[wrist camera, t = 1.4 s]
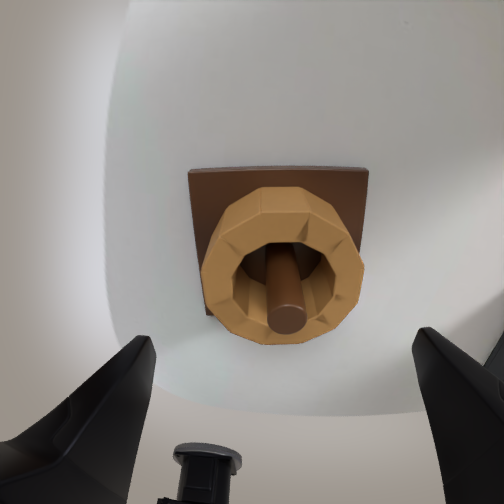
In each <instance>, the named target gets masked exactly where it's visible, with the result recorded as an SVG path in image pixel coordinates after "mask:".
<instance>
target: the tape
mask: <svg viewBox="0 0 504 504" xmlns="http://www.w3.org/2000/svg"><path fill="white" fill-rule="evenodd" d="M277 242H301V243H303V244H305V245H307V246H309V247H311V248H313V249H315V250H317V251H318V252H320V253H321V261H320V262H319V264H318V265H317V267H316V268H315V269H314V271H313V272H312V273H311V275H310V276H309V277H308V278H306V279H304V280H302V281H301V284H302V290H303V295H304V300H305V305H306V311H307V316H308V319H307V322H306V324H305V326H304V327H303V328H302V329H301V330H300V331H298V332H296V333H293V334H288V335H284V334H279V333H276V332H274V331H273V330H272V329H271V328H270V327H269V326H268V324H267V304H266V285H264V284H262V283H259V282H257V281H255V280H253V279H251V278H249V277H248V275H247V274H246V273H245V271H244V270H243V269H242V267H241V266H240V263H241V261H242V260H243V258H244V256H245V255H247V254H249V253H251V252H253V251H255V250H257V249H258V248H260V247H262V246H264V245H266V244H268V243H277ZM363 274H364V264H363V262H362V259H361V257H360V255H359V253H358V251H357V249H356V246H355V244H354V242H353V240H352V238H351V236H350V234H349V232H348V231H347V229H346V227H345V226H344V224H343V222H342V221H341V219H340V217H339V216H338V214H337V212H336V211H335V209H334V208H333V206H332V205H331V204H329V203H327V202H326V201H324V200H322V199H321V198H319V197H317V196H315V195H314V194H312V193H310V192H308V191H307V190H305V189H303V188H300V187H261V188H258V189H256V190H255V191H253V192H251V193H250V194H248V195H246V196H244V197H243V198H241V199H239V200H238V201H236V202H234V203H233V204H231V205H229V206H228V208H226V210H225V212H224V213H223V215H222V217H221V219H220V221H219V223H218V225H217V227H216V229H215V231H214V232H213V234H212V237H211V240H210V243H209V246H208V249H207V252H206V255H205V258H204V262H203V265H202V268H201V277H202V284H203V291H204V297H205V303H206V305H207V307H208V308H209V310H210V311H211V312H212V313H213V314H214V315H215V316H216V317H217V319H218V320H219V321H220V322H221V323H222V324H223V325H224V326H225V327H226V329H227V330H228V331H230V332H231V333H233V334H236V335H238V336H241V337H243V338H246V339H248V340H251V341H254V342H256V343H259V344H262V345H263V344H264V345H276V344H299V343H304V342H306V341H308V340H311V339H313V338H315V337H318V336H320V335H322V334H324V333H327V332H329V331H331V330H333V329H335V328H336V327H337V326H338V325H339V324H340V322H341V321H342V320H343V319H344V318H345V317H346V316H347V315H348V314H349V312H350V311H351V310H352V309H353V308H354V307H355V306H356V304H357V303H358V299H359V295H360V290H361V284H362V279H363Z"/></svg>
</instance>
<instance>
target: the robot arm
mask: <svg viewBox="0 0 504 504" xmlns="http://www.w3.org/2000/svg"><path fill="white" fill-rule="evenodd" d="M412 353H413V358H414V362H415V367H416V372H417V377H418V382H419V387H420V391H421V394H422V397H423V401H424V404H425V408H426V412H427V415H428V419H429V423H430V427H431V431H432V434H433V439H434V443H435V447H436V451H437V456H438V461H439V466H440V471H441V476H442V481H443V484H444V485H443V487H444V494H445V501H446V504H504V382H503V381H501V380H500V379H498V378H497V377H496V376H495V375H494V374H492V373H491V372H490V371H489V370H487V369H486V368H485V367H483V366H482V365H481V364H479V363H478V362H477V361H476V360H474V359H473V358H472V357H470V356H469V355H468V354H466V353H465V352H464V351H462V350H461V349H460V348H458V347H457V346H456V345H454V344H453V343H452V342H450V341H449V340H448V339H446V338H445V337H444V336H442V335H441V334H440V333H438V332H437V331H435V330H434V329H433V328H431V327H423V328H420V329H419V330H418V332H417V335H416V337H415V339H414V342H413V344H412ZM155 364H156V352H155V349H154V346H153V343H152V340H151V338H150V337H149V336H144V335H138V336H136V337H135V338H134V339H133V340H132V341H130V342H129V343H128V344H127V345H126V346H125V347H124V348H122V349H121V350H120V351H119V352H118V353H117V354H116V355H114V356H113V357H112V358H111V359H110V360H109V361H108V362H107V363H106V364H104V365H103V366H102V367H101V368H100V369H99V370H98V371H96V372H95V373H94V374H93V375H92V376H91V377H90V378H88V379H87V380H86V381H85V382H84V383H83V384H82V385H81V386H79V387H78V388H77V389H76V390H75V391H74V392H73V393H72V394H71V395H70V396H69V397H67V398H66V399H65V400H64V401H62V402H61V403H60V404H59V405H58V406H57V407H56V408H55V409H53V410H52V411H51V412H50V413H48V414H47V415H46V416H44V417H43V418H42V419H40V420H39V421H38V422H36V423H35V424H34V425H32V426H31V427H29V428H28V429H27V430H25V431H24V432H22V433H21V434H20V435H18V436H17V437H15V438H13V439H11V440H8V441H4V442H0V504H126V503H127V497H128V492H129V487H130V483H131V477H132V473H133V468H134V464H135V459H136V455H137V451H138V446H139V442H140V438H141V434H142V430H143V425H144V421H145V418H146V413H147V410H148V406H149V401H150V397H151V391H152V384H153V377H154V370H155ZM174 456H175V457H176V459H177V460H178V462H179V463H180V465H181V466H182V468H181V474H180V480H179V487H178V493H177V500H172V499H169V498H166V497H164V499H160V498H158V501H157V504H229V492H230V478H231V477H230V476H231V475H236V468H235V464H234V460H233V457H232V456H226V455H209V454H198V453H188V452H179V451H175V453H174Z"/></svg>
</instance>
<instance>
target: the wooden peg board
mask: <svg viewBox="0 0 504 504" xmlns="http://www.w3.org/2000/svg"><path fill="white" fill-rule="evenodd" d="M368 175H369V171H368V170H367V169H366V168H359V167H333V166H248V167H222V168H204V169H191V170H190V171H189V172H188V182H189V192H190V201H191V209H192V218H193V226H194V234H195V242H196V249H197V257H198V264H199V271H200V278H201V284H202V277H201V268H202V265H203V262H204V258H205V255H206V252H207V249H208V246H209V243H210V240H211V237H212V234H213V232H214V231H215V229H216V227H217V225H218V223H219V221H220V219H221V217H222V215H223V213H224V212H225V210H226V208H228V206H229V205H231V204H233V203H234V202H236V201H238V200H239V199H241V198H243V197H244V196H246V195H248V194H250V193H251V192H253V191H255V190H256V189H258V188H261V187H300V188H303V189H305V190H307V191H308V192H310V193H312V194H314V195H315V196H317V197H319V198H321V199H322V200H324V201H326V202H327V203H329V204H331V205H332V206H333V208H334V209H335V211H336V212H337V214H338V216H339V217H340V219H341V221H342V222H343V224H344V226H345V227H346V229H347V231H348V232H349V234H350V236H351V238H352V240H353V242H354V244H355V246H356V249H357V251H358V253H359V252H360V245H361V238H362V231H363V223H364V215H365V206H366V197H367V187H368ZM320 261H321V253H320V252H318V251H317V250H315V249H313V248H311V247H309V246H307V245H305V244H303V243H301V242H277V243H268V244H266V245H264V246H262V247H260V248H258V249H257V250H255V251H253V252H251V253H249V254H247V255H245V256H244V258H243V260H242V261H241V263H240V266H241V267H242V269H243V270H244V271H245V273H246V274H247V275H248V277H249V278H251V279H253V280H255V281H257V282H259V283H262V284H264V285H266V304H267V324H268V326H269V327H270V328H271V329H272V330H273V331H274V332H276V333H279V334H284V335H288V334H293V333H296V332H298V331H300V330H301V329H302V328H303V327H304V326H305V324H306V322H307V319H308V316H307V311H306V305H305V300H304V295H303V290H302V284H301V281H302V280H304V279H306V278H308V277H309V276H310V275H311V273H312V272H313V271H314V269H315V268H316V267H317V265H318V264H319V262H320ZM202 291H203V284H202ZM203 297H204V291H203ZM204 304H205V310H206V315H207V316H215V315H214V314H213V313H212V312H211V311H210V310H209V308H208V307H207V305H206V303H205V297H204Z"/></svg>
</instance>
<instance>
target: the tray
mask: <svg viewBox="0 0 504 504" xmlns="http://www.w3.org/2000/svg"><path fill="white" fill-rule="evenodd" d="M484 367H485V368H486V369H487V370H489V371H490V372H491V373H492V374H494V375H495V376H496V377H497V378H498V379H500V380H501V381H503V382H504V333H503V335H502V337H501V338H500V340H499V342H498V344H497V345H496V347H495V349H494V350H493V352H492V354H491V355H490V357H489V359H488V360H487V362H486V364H485V365H484Z"/></svg>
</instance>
